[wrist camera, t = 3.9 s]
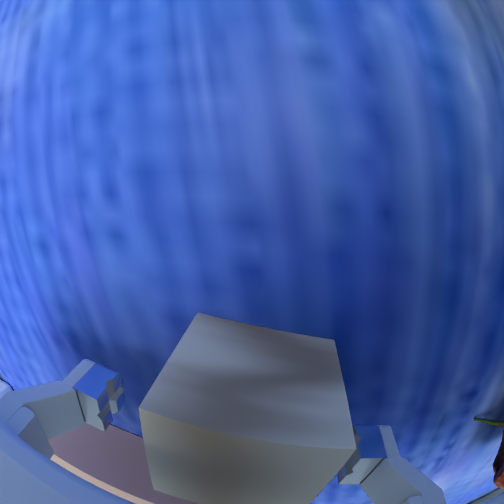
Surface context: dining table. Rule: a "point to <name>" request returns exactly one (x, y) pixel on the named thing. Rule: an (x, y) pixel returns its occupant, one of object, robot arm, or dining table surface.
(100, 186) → the dining table surface
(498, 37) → the dining table surface
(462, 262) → the dining table surface
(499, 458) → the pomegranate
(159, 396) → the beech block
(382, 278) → the dining table surface
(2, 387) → the medicine bottle
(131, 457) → the terracotta tile
